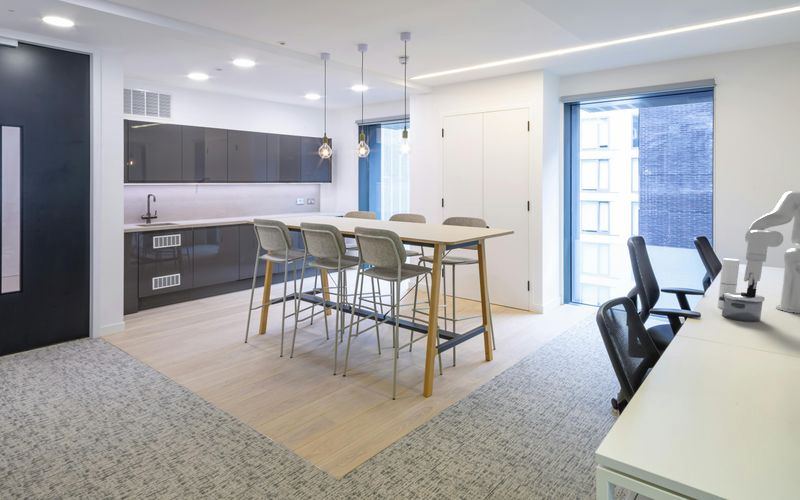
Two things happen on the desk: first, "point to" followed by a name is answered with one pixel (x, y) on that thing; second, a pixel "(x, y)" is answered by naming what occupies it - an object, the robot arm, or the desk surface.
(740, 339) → the desk surface
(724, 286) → the cylindrical container
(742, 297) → the lid
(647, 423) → the desk surface
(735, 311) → the pot
